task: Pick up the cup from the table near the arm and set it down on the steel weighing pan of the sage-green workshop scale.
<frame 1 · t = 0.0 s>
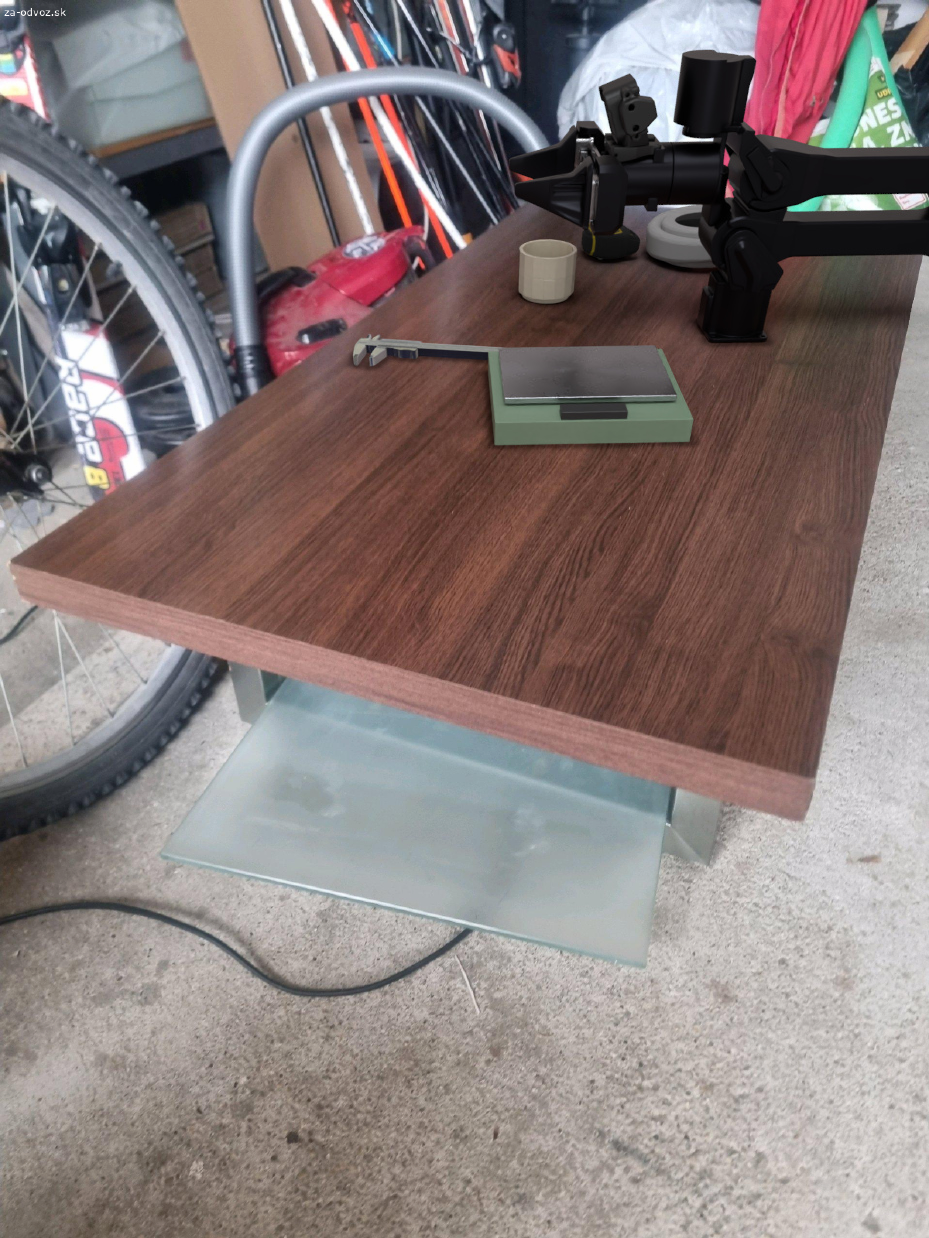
hand: (511, 176, 87), 17 cm above the table, tool horizontal, fingers open, 9 cm apart
caliper: (448, 361, 92), on the table
cup: (545, 294, 107), on the table
grey donut ring: (707, 259, 116), on the table
tape measure: (609, 256, 118), on the table
scale pan: (583, 373, 84), point 3 cm above the table, slide at 0.1 cm
scale: (582, 405, 85), on the table
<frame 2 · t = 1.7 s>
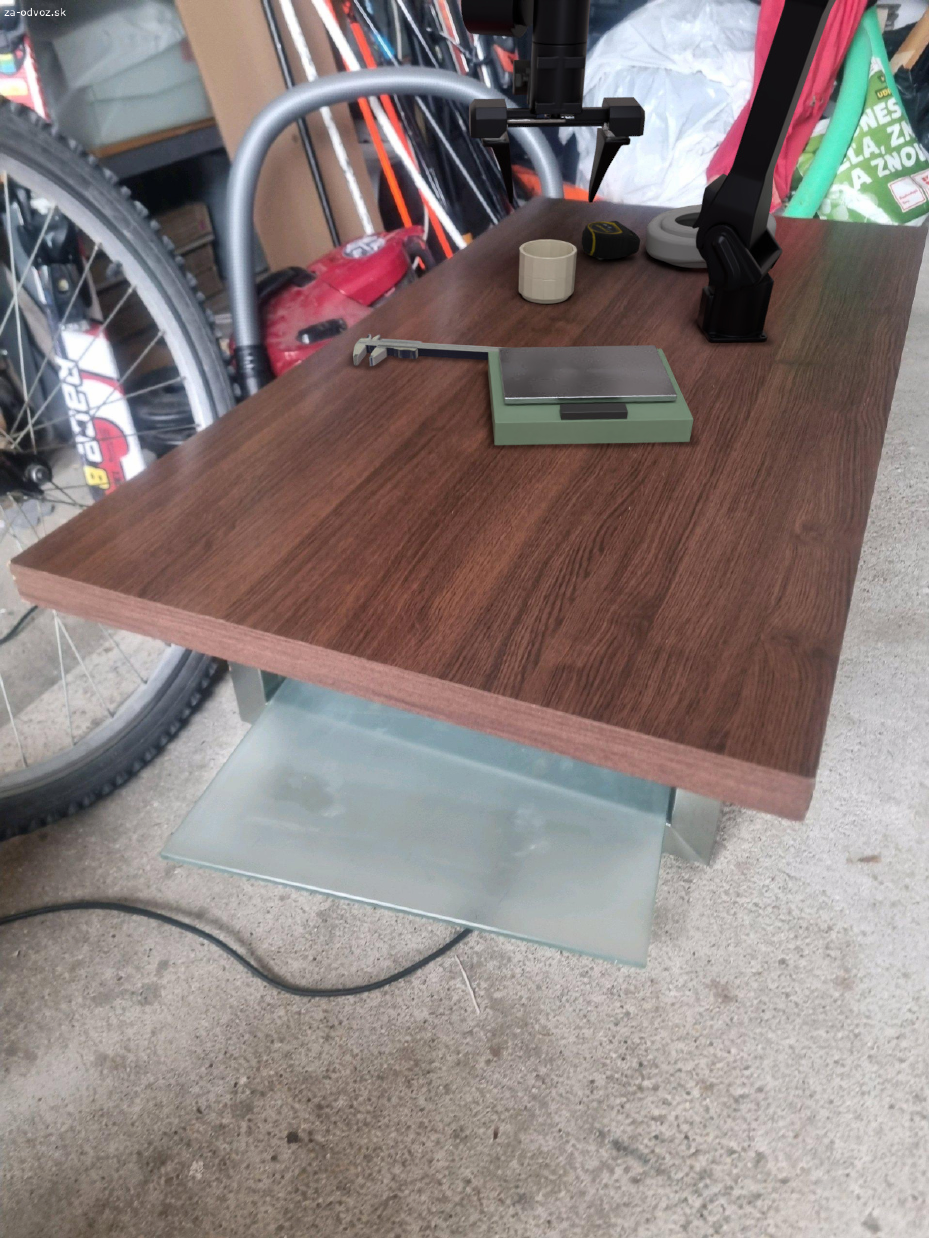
hand: (550, 202, 100), 11 cm above the table, tool pointing down, fingers open, 9 cm apart
nothing on the table moved.
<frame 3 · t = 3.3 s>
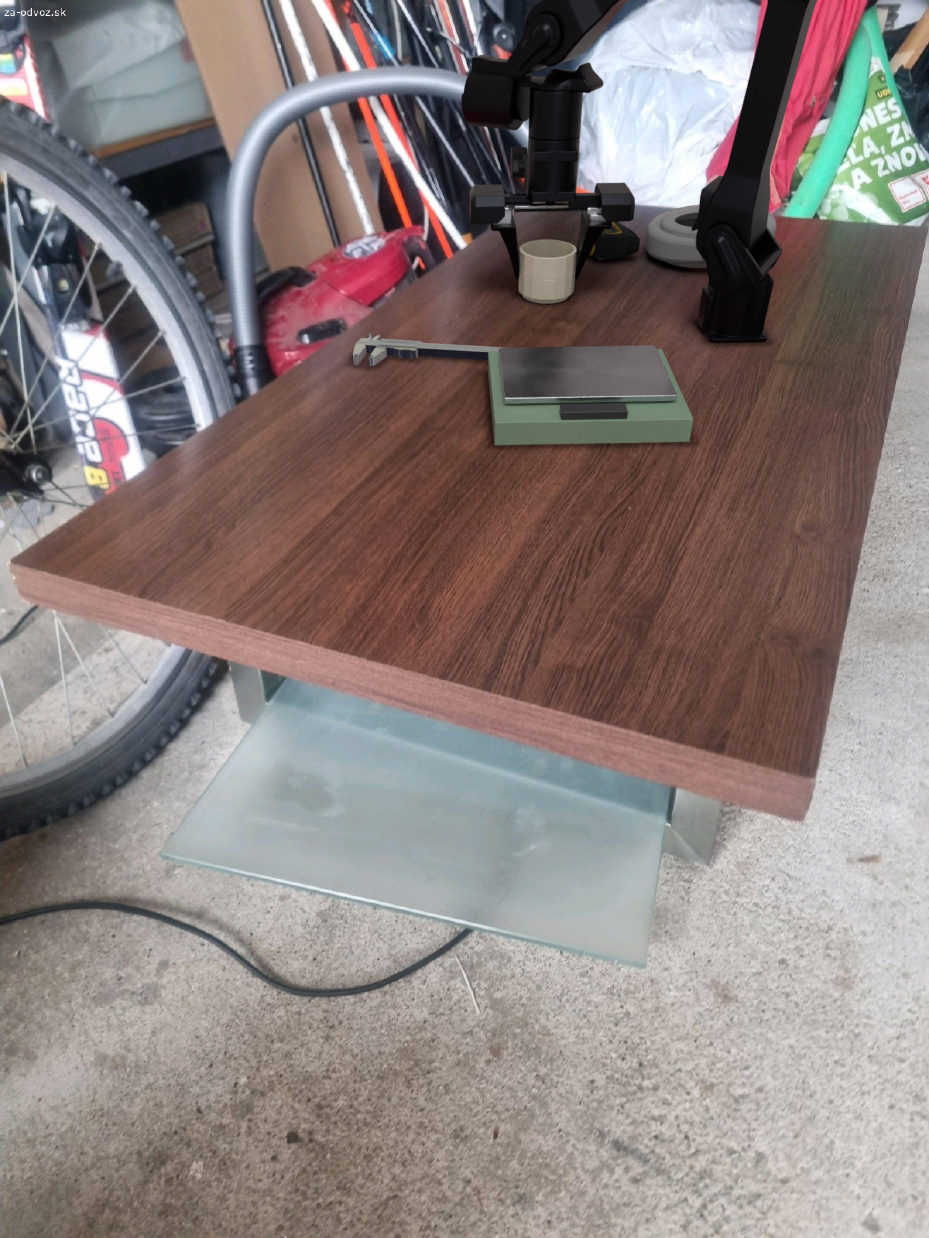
hand: (546, 278, 106), 2 cm above the table, tool pointing down, fingers closed on cup, 7 cm apart
cup: (545, 294, 107), on the table, touching gripper
everything else where it was.
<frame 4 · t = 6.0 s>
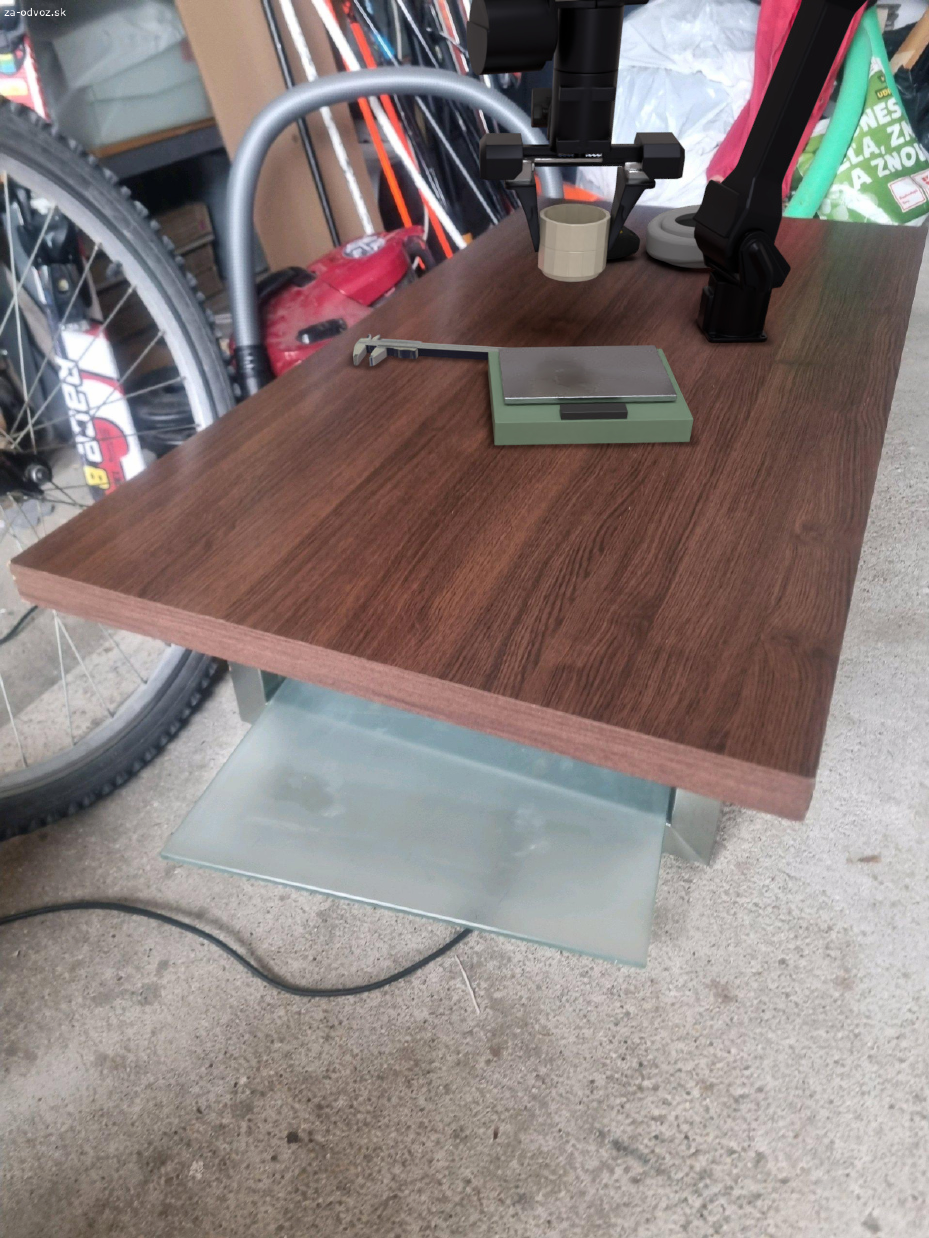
hand: (572, 251, 86), 11 cm above the table, tool pointing down, fingers closed on cup, 7 cm apart
cup: (570, 271, 88), point 9 cm above the table, touching gripper
everything else where it was.
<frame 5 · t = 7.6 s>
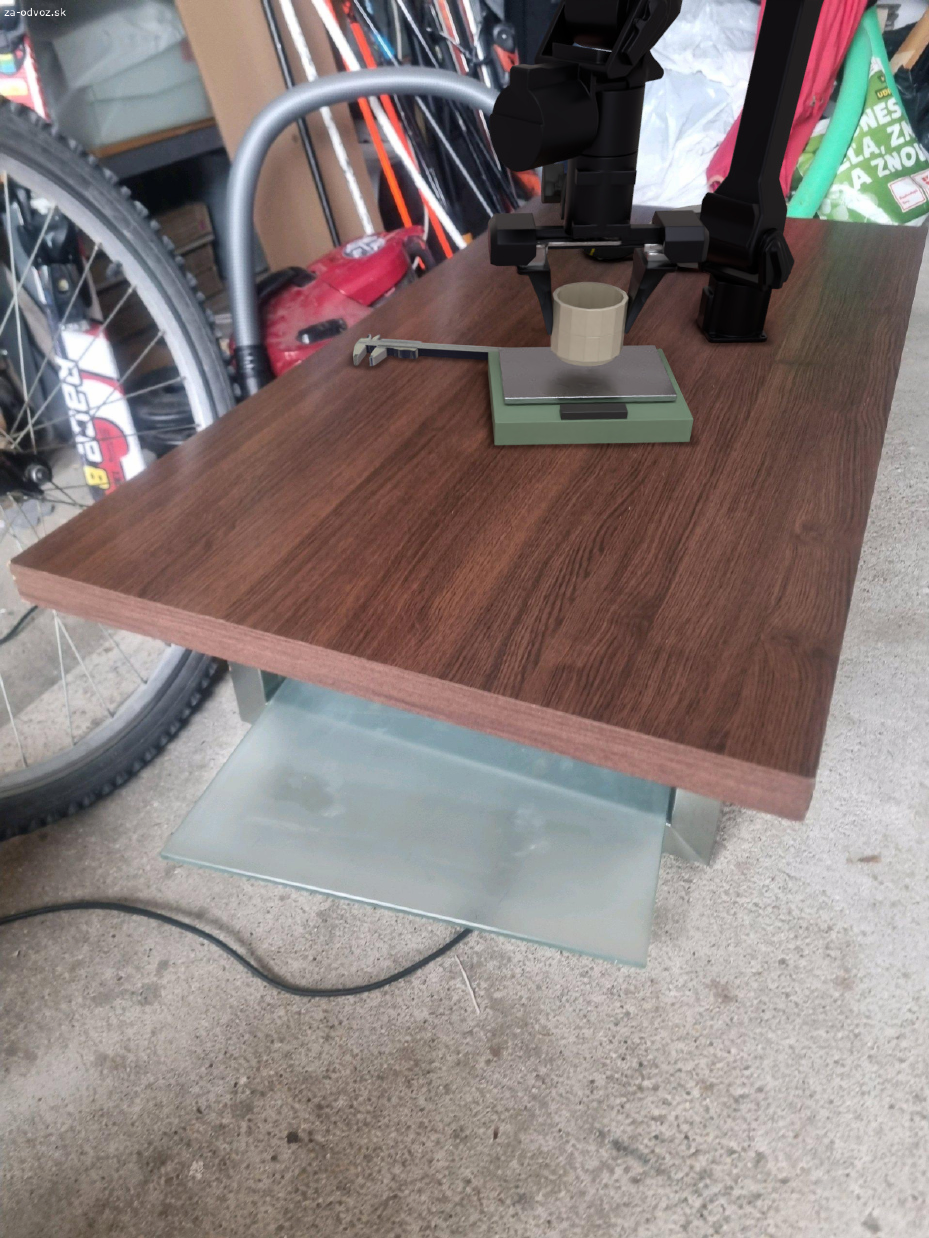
hand: (587, 332, 81), 7 cm above the table, tool pointing down, fingers closed on cup, 7 cm apart
cup: (585, 352, 83), point 5 cm above the table, touching gripper
everything else where it was.
when the fingers open (5 cm above the table, at t = 8.7 s): cup stays where it is, resting on scale pan.
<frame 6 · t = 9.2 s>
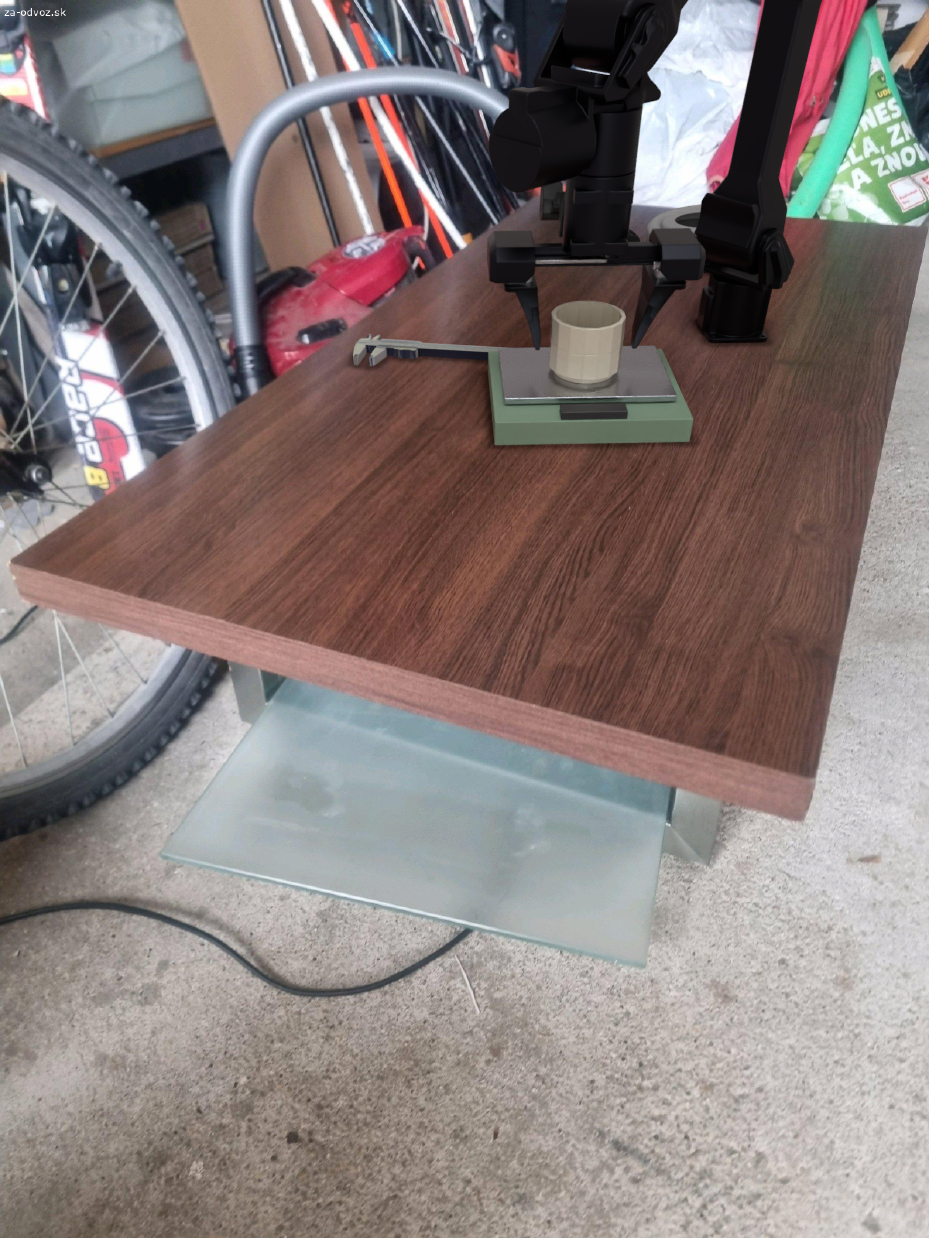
hand: (585, 347, 82), 6 cm above the table, tool pointing down, fingers open, 9 cm apart
cup: (583, 370, 84), point 3 cm above the table, touching scale pan
scale pan: (583, 373, 84), point 3 cm above the table, slide at 0.1 cm, touching cup
everything else where it was.
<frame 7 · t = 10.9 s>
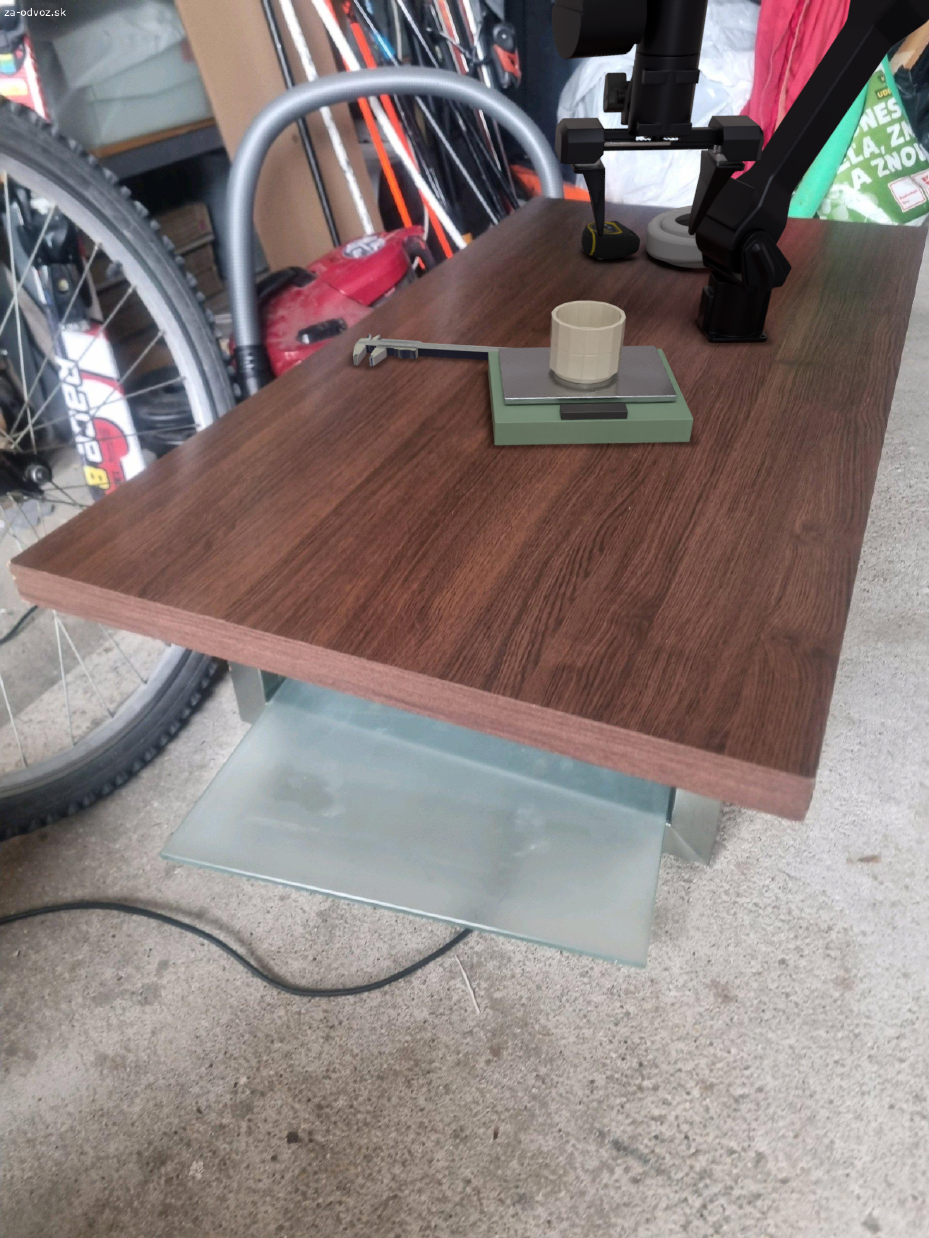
hand: (645, 235, 87), 12 cm above the table, tool pointing down, fingers open, 9 cm apart
nothing on the table moved.
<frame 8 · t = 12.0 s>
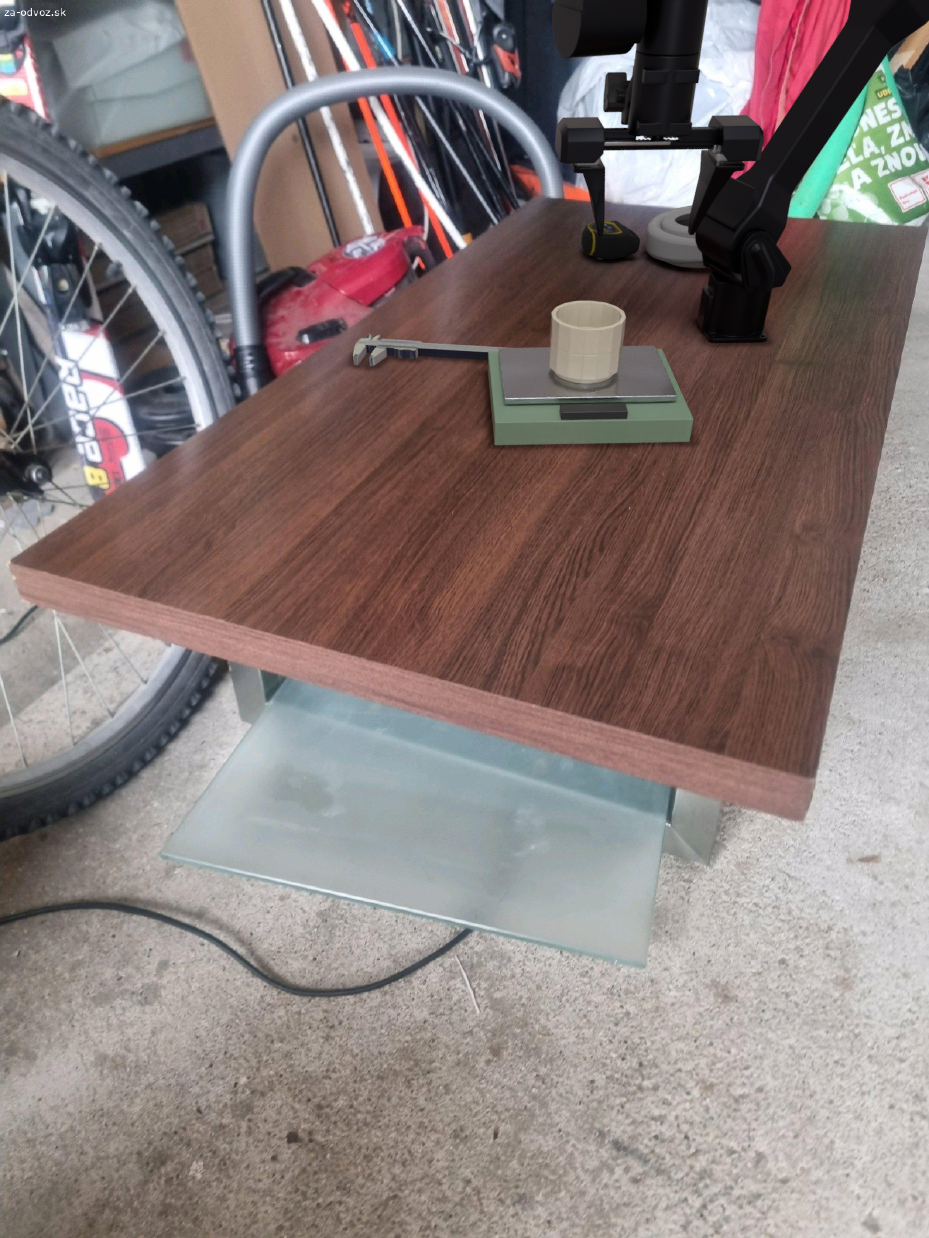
hand: (645, 234, 87), 12 cm above the table, tool pointing down, fingers open, 9 cm apart
nothing on the table moved.
at the end: cup inside the target area on the scale (0.1 cm from its centre), point 3.2 cm above the scale's base; cup tilted 0°; the gripper is holding nothing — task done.
